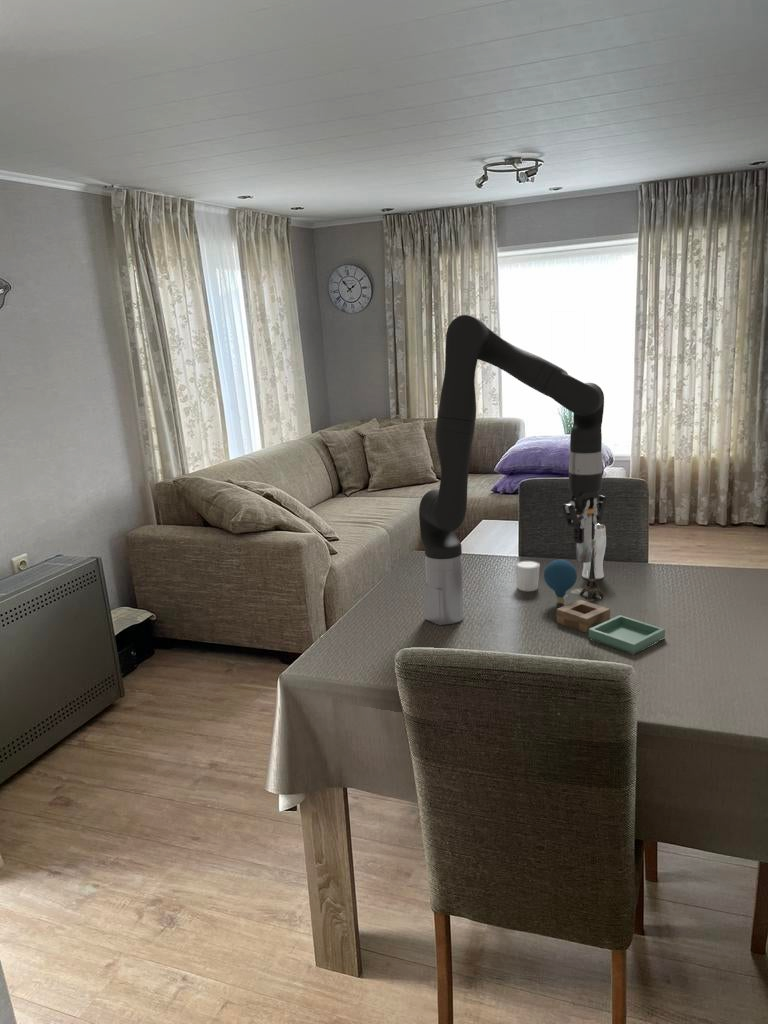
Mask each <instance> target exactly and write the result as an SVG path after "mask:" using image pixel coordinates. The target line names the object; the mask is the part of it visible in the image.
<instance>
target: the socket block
mask: <svg viewBox="0 0 768 1024" xmlns="http://www.w3.org/2000/svg"><path fill="white" fill-rule="evenodd" d="M610 619H611V608H608V607H605V606H602V605H599V604H596V603H592V602H590V601H587V600H582V599H578V600H575V601H573V602H570V603H568V604H566V605H563V606H561V607H559V608H556V623H558V624H561V625H563V626H565V627H569V628H571V629H574V628H575V630H577V631H580V632H583V633H586V632H587V633H589V629H590V628H592V627H594V626H597V625H599V624H601V623H603V622H606V621H608V620H610Z"/></svg>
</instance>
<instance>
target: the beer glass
mask: <svg viewBox="0 0 768 1024" xmlns="http://www.w3.org/2000/svg"><path fill="white" fill-rule="evenodd" d="M606 530H607V529H606V526H605V524H602V523H601V524H600V523H596V524H595V535H594V539H593V540H592V546H591V555H592V551H593V555H594V557H593V561H594V574H595V579H596V580H601V579H603V578H604V576H605V574H604V568H603V564H604V563H603V562H604V557H605V553H606V547H607V533H606ZM582 566H583V567H582V573H581V576H582V578H584V579H587V580H588V578H589V575H590V567H591V562H588V563H583V565H582Z"/></svg>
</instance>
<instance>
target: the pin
mask: <svg viewBox="0 0 768 1024" xmlns="http://www.w3.org/2000/svg"><path fill="white" fill-rule="evenodd" d="M576 513H577V514H579V515H582V513H583V512H582V513H580V512H576ZM593 513H594V508H590V509H588V510H587V518H586V519H585V521H584V527H583V528H584V542H583V543H581V544H580V543H576V562H578V563H583V564H584V563H588V562H591V546H592V514H593ZM578 522H579V523H580V518H578Z"/></svg>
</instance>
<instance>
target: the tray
mask: <svg viewBox="0 0 768 1024" xmlns="http://www.w3.org/2000/svg"><path fill="white" fill-rule="evenodd" d="M664 637H666V629H665V628H663V627H659V626H656V625H653V624H649V623H646V622H644V621H641V620H637V619H635V618H630V617H628V616H624V615H622V614H619V615H617V616H615V617H612V618H610V620H608V621H606V622H603V623H601V624H599V625H597V626H594V627H592V628H590V629H589V632H588V640H590V639H592V640H591V641H593V640H594V642H596V641H597V643H598V642H600V643H599V644H601V643H603V644H602V645H604V644H605V645H604V646H607V645H608V647H610V648H612V647H613V649H615V648H616V649H615V650H618V649H619V650H618V651H621V650H622V651H621V652H623V651H625V652H624V653H626V652H628V653H627V654H629V653H631V654H630V655H632V654H635V653H637V652H639V651H641V650H642V649H644V648H646V647H648V646H650V645H652V644H654V643H655V642H657V641H659V640H660V639H662V638H664ZM641 652H642V651H641ZM639 653H640V652H639ZM637 654H638V653H637ZM635 655H636V654H635Z"/></svg>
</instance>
